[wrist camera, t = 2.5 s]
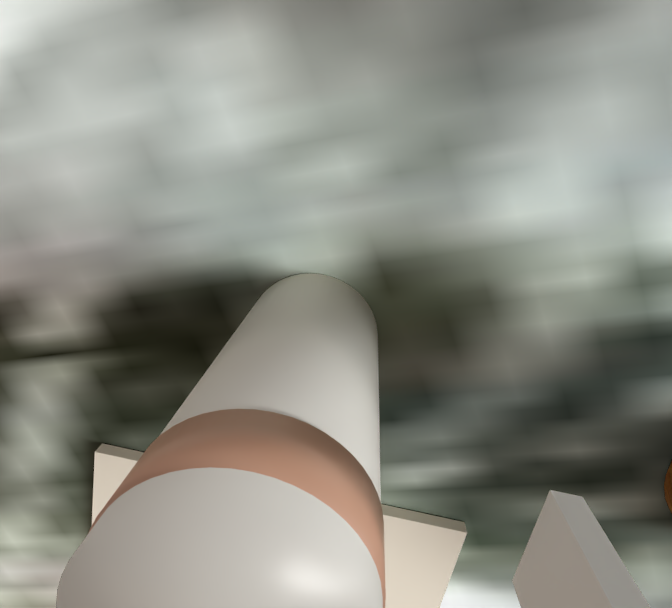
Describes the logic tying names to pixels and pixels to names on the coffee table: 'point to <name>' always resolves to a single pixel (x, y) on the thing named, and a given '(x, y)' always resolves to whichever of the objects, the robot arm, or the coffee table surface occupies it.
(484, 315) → the coffee table surface
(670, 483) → the disposable coffee cup
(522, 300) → the coffee table surface
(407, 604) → the card
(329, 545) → the plastic tube
